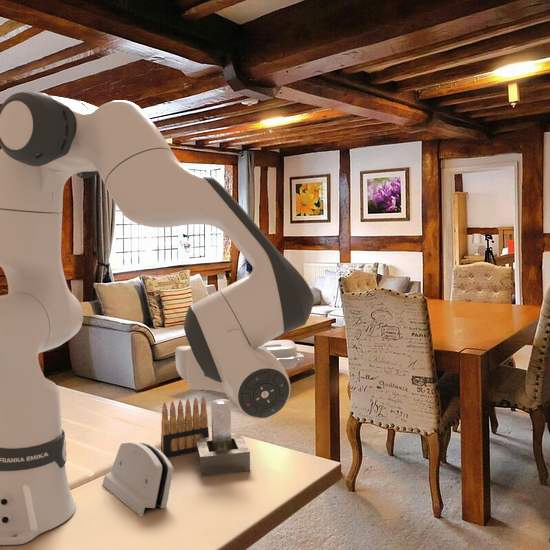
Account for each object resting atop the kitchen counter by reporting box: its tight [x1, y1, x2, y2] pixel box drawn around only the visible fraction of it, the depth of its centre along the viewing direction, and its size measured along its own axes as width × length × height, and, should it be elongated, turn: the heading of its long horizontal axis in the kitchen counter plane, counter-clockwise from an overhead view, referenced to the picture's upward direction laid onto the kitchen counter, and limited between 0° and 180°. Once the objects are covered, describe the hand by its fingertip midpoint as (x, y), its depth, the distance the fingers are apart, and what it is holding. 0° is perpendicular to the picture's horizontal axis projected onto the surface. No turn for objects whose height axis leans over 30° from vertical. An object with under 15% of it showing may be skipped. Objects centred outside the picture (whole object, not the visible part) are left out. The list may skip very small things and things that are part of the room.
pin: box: [210, 398, 232, 452], centre depth 119 cm, size 4×4×12 cm
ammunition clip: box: [160, 396, 210, 459], centre depth 125 cm, size 11×2×12 cm, turn 117°
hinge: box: [101, 441, 174, 517], centre depth 107 cm, size 17×5×10 cm, turn 40°
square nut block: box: [195, 433, 251, 477], centre depth 120 cm, size 10×10×4 cm
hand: (230, 346), depth 103 cm, fingers open, 8 cm apart
